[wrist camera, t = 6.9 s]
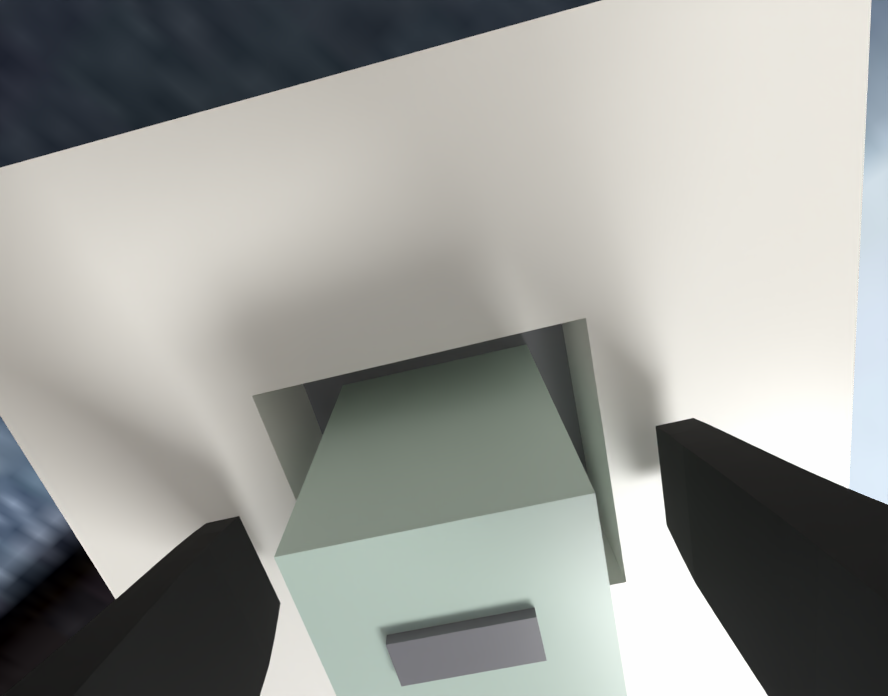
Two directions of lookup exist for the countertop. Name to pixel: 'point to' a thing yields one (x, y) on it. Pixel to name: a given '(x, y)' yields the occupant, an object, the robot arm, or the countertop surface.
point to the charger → (453, 540)
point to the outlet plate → (456, 283)
